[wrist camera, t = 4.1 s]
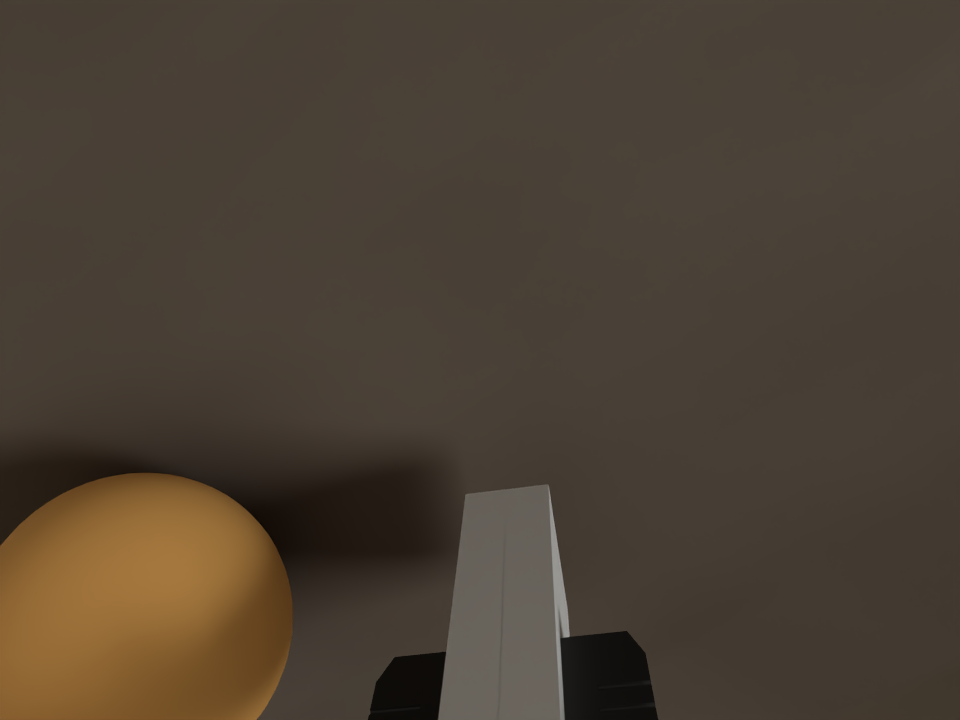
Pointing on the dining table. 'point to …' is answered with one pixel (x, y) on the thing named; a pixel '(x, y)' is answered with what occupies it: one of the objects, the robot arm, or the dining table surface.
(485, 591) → the robot arm
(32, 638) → the ball
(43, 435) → the dining table surface
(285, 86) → the dining table surface
